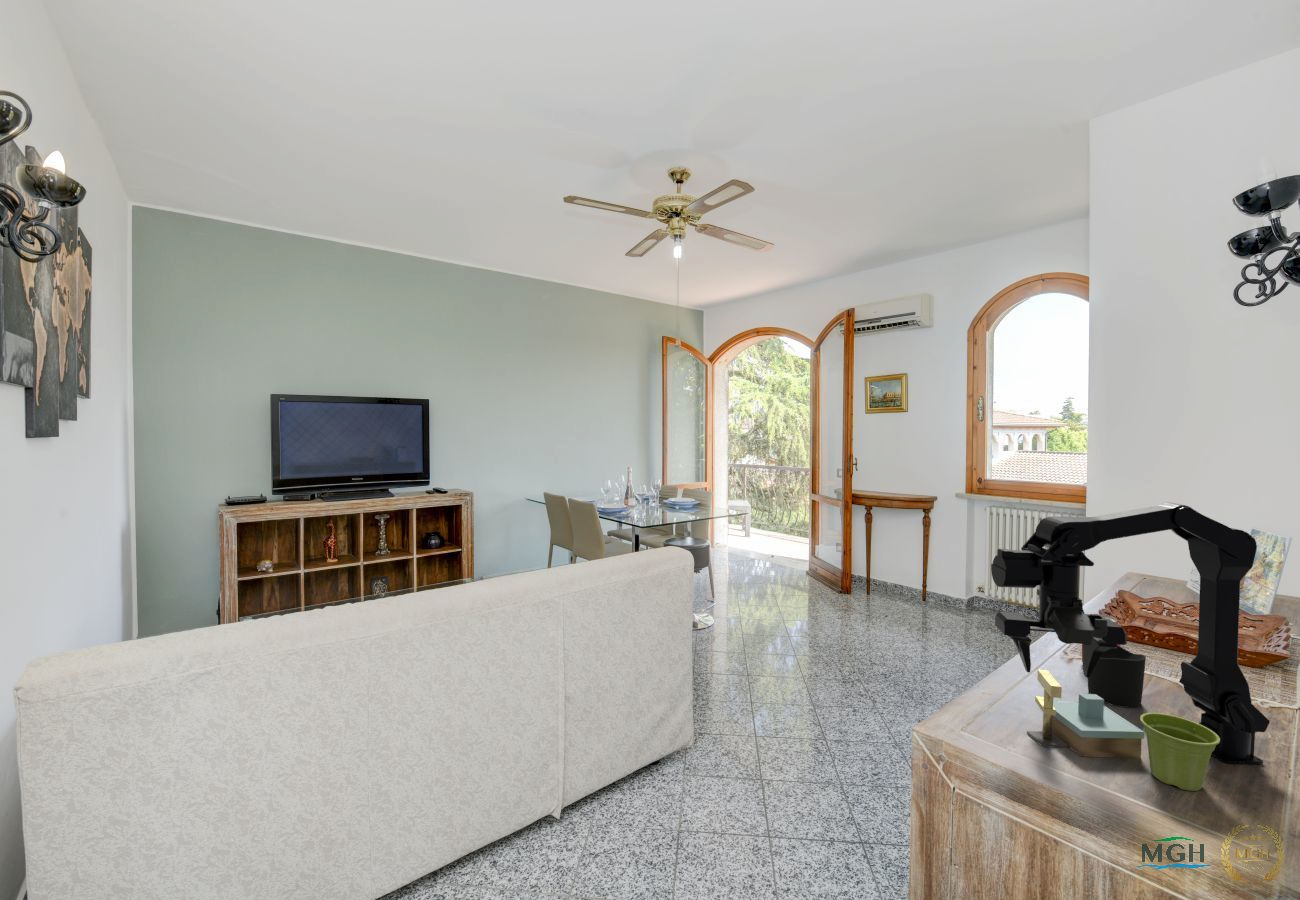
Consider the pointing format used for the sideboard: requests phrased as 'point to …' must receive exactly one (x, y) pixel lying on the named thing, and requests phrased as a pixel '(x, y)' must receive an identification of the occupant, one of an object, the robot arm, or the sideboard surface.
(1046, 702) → the key
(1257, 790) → the sideboard surface
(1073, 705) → the lid
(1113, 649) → the pen holder
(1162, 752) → the plant pot
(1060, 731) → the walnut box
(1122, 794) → the sideboard surface
